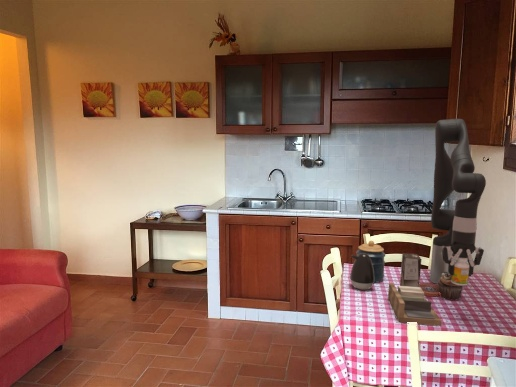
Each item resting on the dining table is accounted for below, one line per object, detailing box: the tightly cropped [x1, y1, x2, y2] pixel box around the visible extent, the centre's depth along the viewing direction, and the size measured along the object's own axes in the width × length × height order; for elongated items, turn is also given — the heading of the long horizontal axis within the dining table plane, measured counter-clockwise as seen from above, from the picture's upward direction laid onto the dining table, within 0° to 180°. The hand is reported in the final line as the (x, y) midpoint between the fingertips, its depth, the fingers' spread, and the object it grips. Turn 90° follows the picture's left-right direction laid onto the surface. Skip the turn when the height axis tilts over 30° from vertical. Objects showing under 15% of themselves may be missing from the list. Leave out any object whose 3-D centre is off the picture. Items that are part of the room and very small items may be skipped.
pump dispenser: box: [349, 253, 375, 291], centre depth 180 cm, size 10×10×15 cm
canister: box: [355, 240, 386, 283], centre depth 193 cm, size 13×13×18 cm
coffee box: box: [399, 252, 422, 287], centre depth 174 cm, size 9×6×16 cm
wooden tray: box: [387, 282, 442, 327], centre depth 156 cm, size 22×14×7 cm, turn 173°
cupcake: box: [436, 272, 464, 301], centre depth 173 cm, size 10×10×10 cm
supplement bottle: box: [451, 257, 470, 287], centre depth 151 cm, size 5×5×10 cm
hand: (460, 275), depth 151 cm, fingers closed on supplement bottle, 5 cm apart
